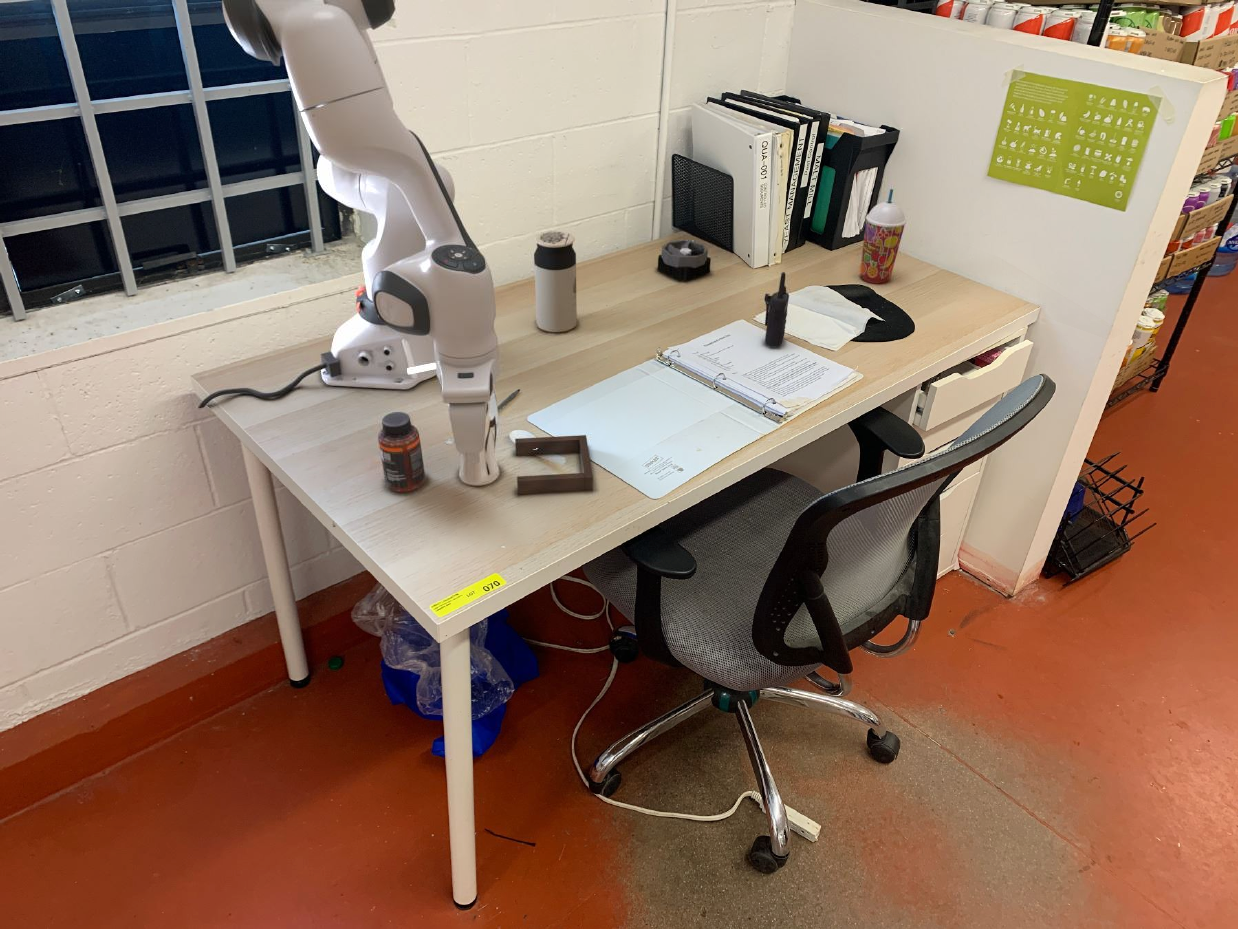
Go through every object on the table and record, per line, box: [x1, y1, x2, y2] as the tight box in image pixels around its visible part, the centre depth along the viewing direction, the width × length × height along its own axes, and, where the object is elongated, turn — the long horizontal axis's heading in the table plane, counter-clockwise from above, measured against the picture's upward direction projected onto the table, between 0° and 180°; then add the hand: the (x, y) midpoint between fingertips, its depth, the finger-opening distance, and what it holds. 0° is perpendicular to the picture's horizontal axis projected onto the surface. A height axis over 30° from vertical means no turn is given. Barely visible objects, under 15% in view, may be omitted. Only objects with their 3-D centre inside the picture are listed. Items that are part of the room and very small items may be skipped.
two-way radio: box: [764, 271, 790, 348], centre depth 172 cm, size 6×4×15 cm
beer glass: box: [458, 384, 500, 487], centre depth 135 cm, size 7×7×15 cm
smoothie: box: [859, 188, 907, 284], centre depth 197 cm, size 8×8×20 cm
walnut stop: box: [514, 434, 594, 495], centre depth 140 cm, size 11×11×2 cm
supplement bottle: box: [377, 411, 426, 493], centre depth 134 cm, size 6×6×11 cm
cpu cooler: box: [657, 238, 712, 282], centre depth 202 cm, size 10×6×10 cm
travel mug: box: [533, 230, 578, 333], centre depth 176 cm, size 8×8×18 cm
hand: (474, 444), depth 136 cm, fingers open, 7 cm apart
